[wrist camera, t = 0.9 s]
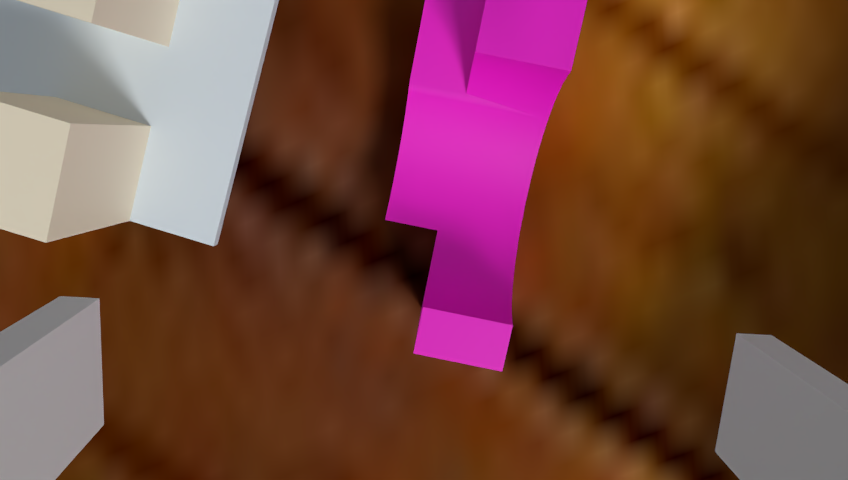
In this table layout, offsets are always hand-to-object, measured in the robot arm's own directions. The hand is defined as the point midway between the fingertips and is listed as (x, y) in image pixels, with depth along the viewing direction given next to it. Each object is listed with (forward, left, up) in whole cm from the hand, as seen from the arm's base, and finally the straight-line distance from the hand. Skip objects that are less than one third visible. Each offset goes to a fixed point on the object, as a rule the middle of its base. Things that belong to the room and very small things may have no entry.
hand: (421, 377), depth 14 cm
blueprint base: (+18, -3, -20) cm, 27 cm away
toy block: (0, -3, -21) cm, 21 cm away
